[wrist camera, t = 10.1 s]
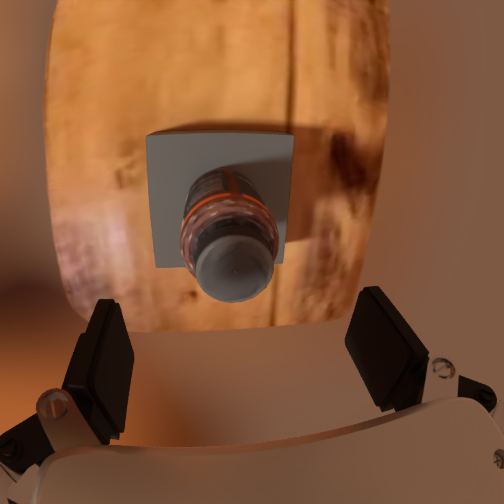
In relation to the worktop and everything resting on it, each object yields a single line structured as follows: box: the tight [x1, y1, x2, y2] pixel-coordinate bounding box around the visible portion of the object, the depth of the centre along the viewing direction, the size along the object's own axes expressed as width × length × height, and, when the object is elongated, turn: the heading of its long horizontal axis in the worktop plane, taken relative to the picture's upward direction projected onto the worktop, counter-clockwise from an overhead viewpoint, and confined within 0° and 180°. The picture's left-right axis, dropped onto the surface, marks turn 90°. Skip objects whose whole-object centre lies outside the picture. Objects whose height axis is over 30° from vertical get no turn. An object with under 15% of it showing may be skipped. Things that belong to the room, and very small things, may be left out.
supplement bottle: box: [180, 169, 279, 303], centre depth 20 cm, size 6×6×11 cm
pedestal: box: [146, 130, 294, 268], centre depth 26 cm, size 12×12×4 cm
